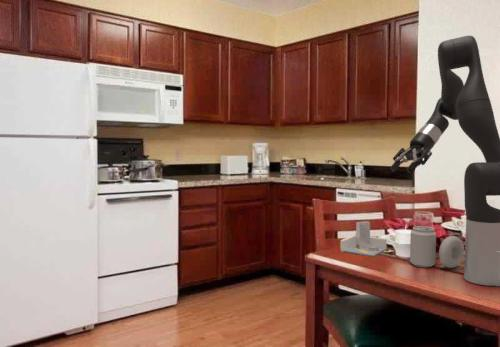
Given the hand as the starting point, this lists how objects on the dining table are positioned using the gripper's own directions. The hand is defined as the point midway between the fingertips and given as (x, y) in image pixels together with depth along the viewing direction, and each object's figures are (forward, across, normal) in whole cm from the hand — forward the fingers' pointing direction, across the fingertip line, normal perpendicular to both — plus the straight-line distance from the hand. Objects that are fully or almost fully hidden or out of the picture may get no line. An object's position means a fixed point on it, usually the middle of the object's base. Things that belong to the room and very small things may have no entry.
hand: (400, 170), depth 152 cm
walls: (+29, -3, +11) cm, 32 cm away
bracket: (+28, -2, +11) cm, 31 cm away
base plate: (+29, -3, +11) cm, 32 cm away
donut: (+21, +24, +20) cm, 38 cm away
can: (+25, +18, +16) cm, 35 cm away
